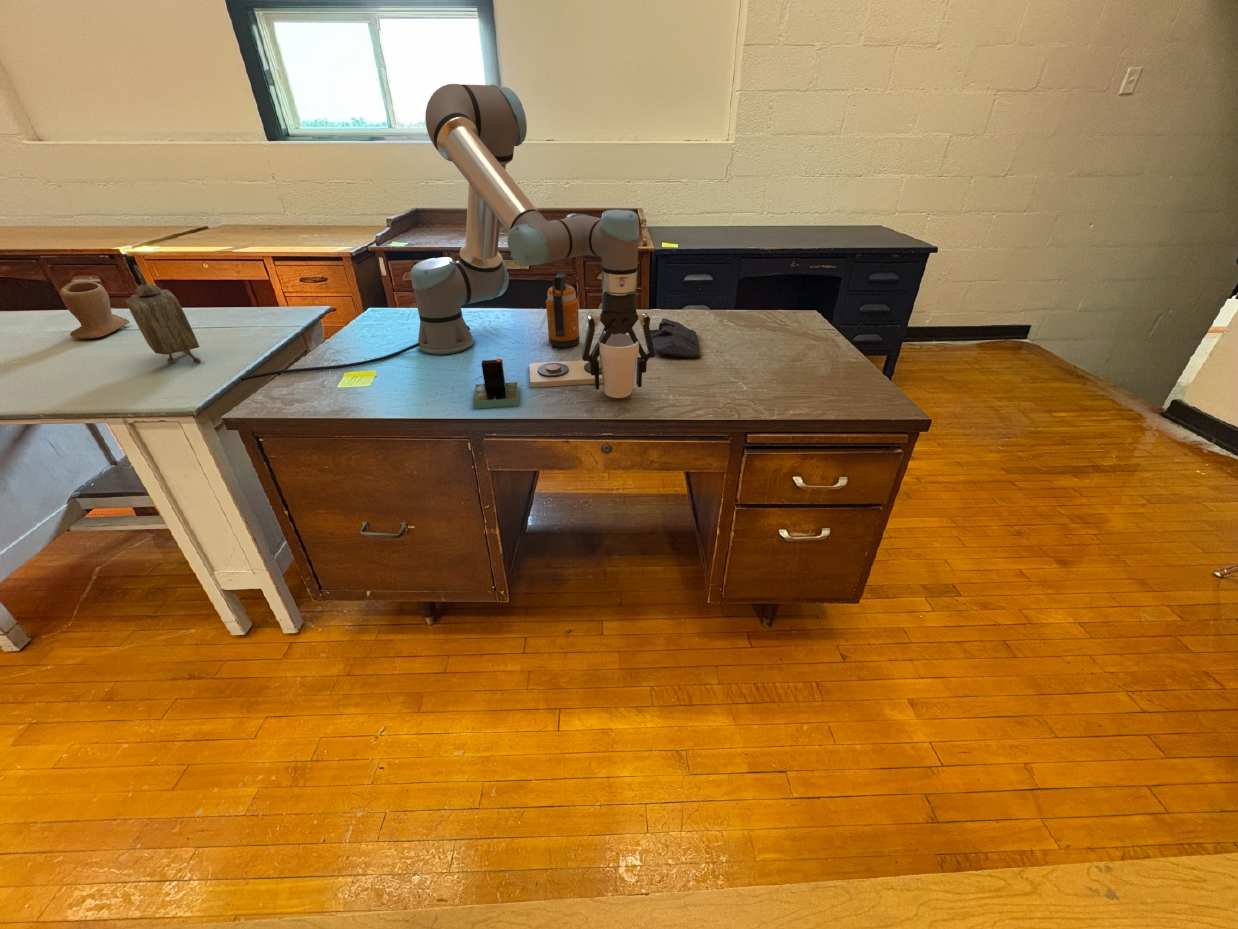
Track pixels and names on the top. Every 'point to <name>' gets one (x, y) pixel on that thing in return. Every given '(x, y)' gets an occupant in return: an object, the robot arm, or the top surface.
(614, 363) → the foam cup
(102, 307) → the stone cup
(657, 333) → the dark grey folded cloth
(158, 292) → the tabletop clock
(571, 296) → the canister
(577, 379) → the hob
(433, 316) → the robot arm
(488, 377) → the tall black monolith
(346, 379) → the top surface
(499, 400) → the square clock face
